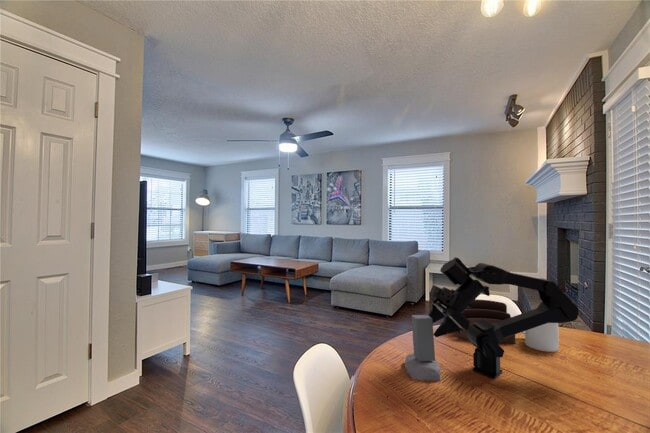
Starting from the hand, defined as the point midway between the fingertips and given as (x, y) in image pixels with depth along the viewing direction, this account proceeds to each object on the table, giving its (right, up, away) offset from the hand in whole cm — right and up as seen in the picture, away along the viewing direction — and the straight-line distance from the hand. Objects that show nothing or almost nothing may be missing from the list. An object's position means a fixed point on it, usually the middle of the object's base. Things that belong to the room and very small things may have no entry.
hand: (429, 330), depth 91 cm
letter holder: (+32, -14, +28) cm, 45 cm away
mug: (+49, -13, +19) cm, 54 cm away
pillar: (-2, -9, 0) cm, 9 cm away
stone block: (-3, -13, 0) cm, 13 cm away
